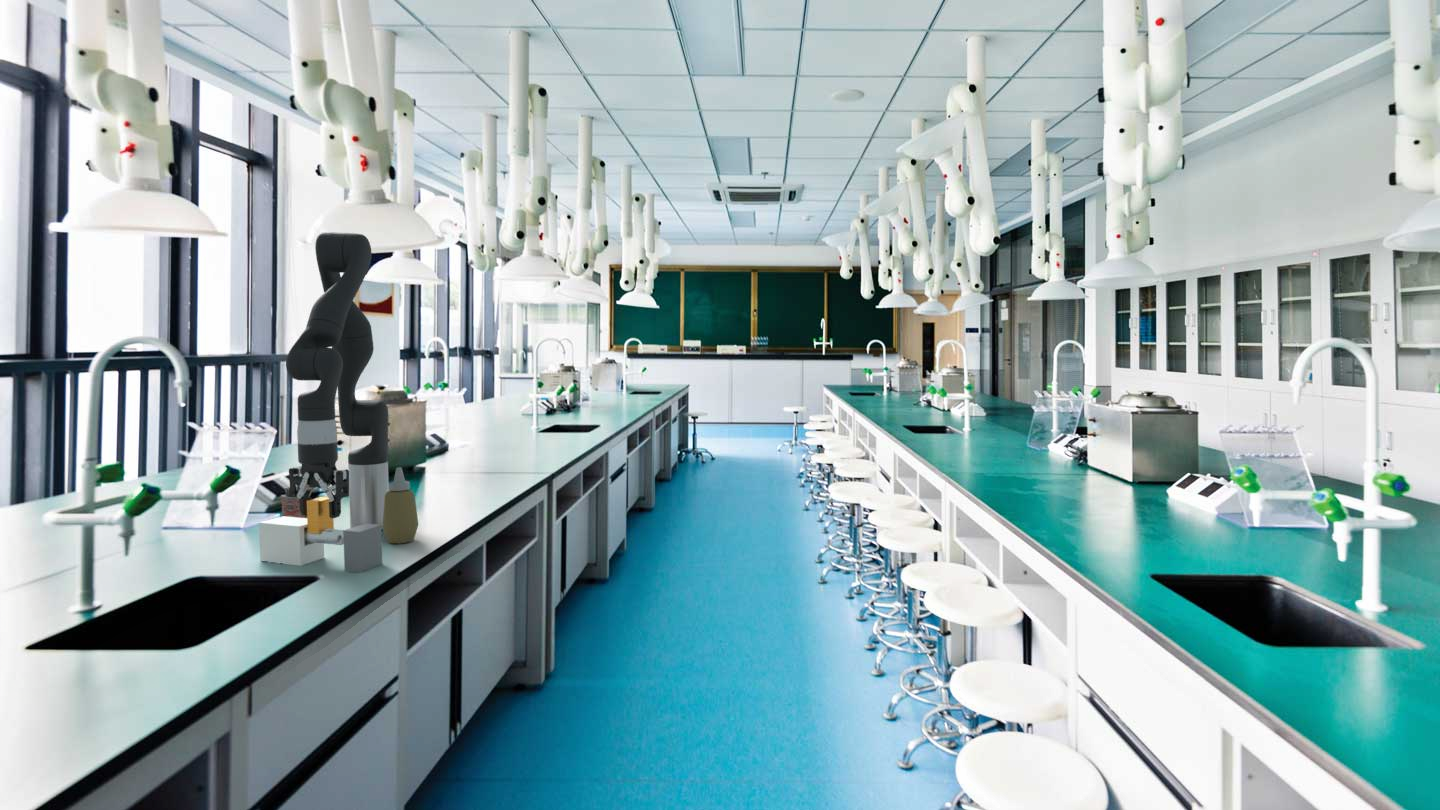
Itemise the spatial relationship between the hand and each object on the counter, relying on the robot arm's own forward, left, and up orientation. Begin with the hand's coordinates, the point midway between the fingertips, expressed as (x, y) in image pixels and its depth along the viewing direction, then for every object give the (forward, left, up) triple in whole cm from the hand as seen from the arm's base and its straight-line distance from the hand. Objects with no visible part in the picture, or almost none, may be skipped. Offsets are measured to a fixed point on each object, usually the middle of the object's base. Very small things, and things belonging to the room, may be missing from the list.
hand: (320, 516), depth 160 cm
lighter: (-26, -34, -11) cm, 44 cm away
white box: (0, -8, -10) cm, 13 cm away
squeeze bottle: (-20, +4, -11) cm, 23 cm away
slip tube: (0, -3, -6) cm, 7 cm away
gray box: (0, +11, -10) cm, 15 cm away
